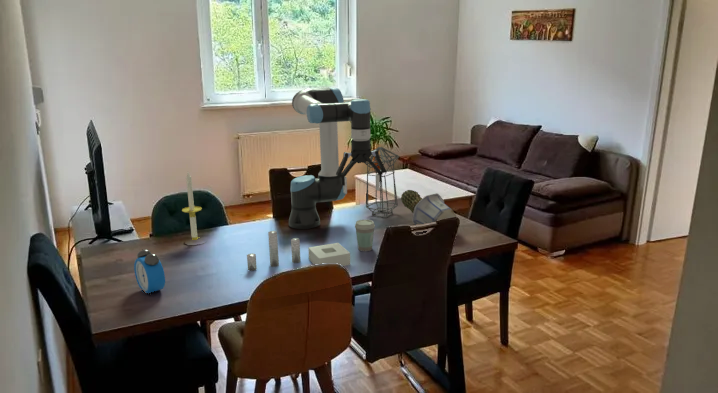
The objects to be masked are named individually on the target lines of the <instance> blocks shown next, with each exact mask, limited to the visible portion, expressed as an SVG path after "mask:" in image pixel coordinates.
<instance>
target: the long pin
mask: <svg viewBox="0 0 718 393" xmlns="http://www.w3.org/2000/svg"><path fill="white" fill-rule="evenodd" d="M267 235H268V250H269V264H270V265H269V266H270V267H271V268H277V267H279V266H280V263H279V262H280V260H279V244H278V231H277V230H269V231H268V233H267Z"/></svg>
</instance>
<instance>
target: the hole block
mask: <svg viewBox="0 0 718 393" xmlns="http://www.w3.org/2000/svg"><path fill="white" fill-rule="evenodd" d="M308 260H309V261H310V262H311V263H312V264H313V265H314V264H322V263H338V264H341V265H343V266H342V267H346V266H347V267H348V266H350V265H351V252H350V251H349V250H348V249H346V248H345V247H344V246H343V245H341V244H340V243H339V242H335V243H328V244H324V245H323V244H321V245H316V246H310V247H308Z"/></svg>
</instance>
